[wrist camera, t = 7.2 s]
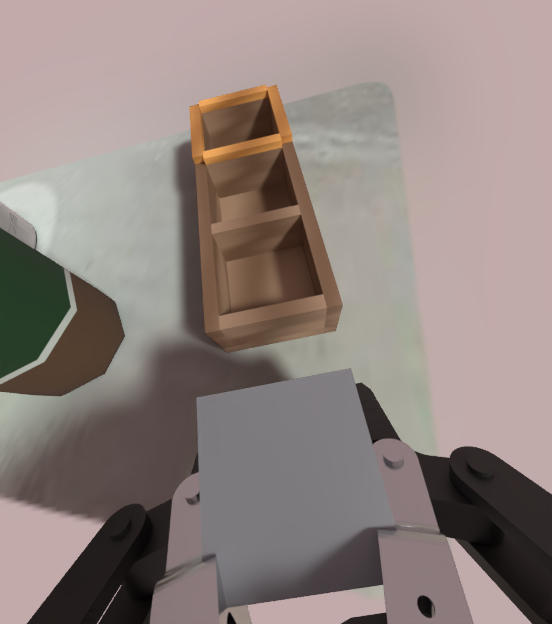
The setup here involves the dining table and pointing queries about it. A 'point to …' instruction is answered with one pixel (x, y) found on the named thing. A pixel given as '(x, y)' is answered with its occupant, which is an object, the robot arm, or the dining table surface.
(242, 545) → the block
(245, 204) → the bay rack
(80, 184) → the dining table surface
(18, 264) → the beer bottle
